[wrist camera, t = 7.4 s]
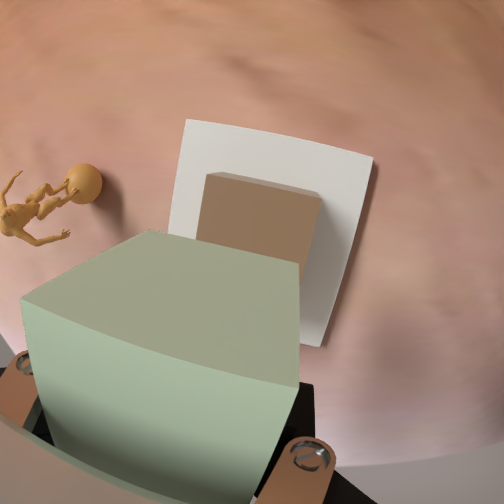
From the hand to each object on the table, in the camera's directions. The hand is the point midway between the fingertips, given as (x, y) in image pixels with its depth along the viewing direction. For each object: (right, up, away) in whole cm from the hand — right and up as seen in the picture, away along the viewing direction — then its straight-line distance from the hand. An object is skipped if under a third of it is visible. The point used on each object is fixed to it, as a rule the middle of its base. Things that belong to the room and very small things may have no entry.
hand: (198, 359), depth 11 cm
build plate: (+2, +5, +18) cm, 19 cm away
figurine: (-15, +10, +19) cm, 26 cm away
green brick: (0, 0, +1) cm, 1 cm away
